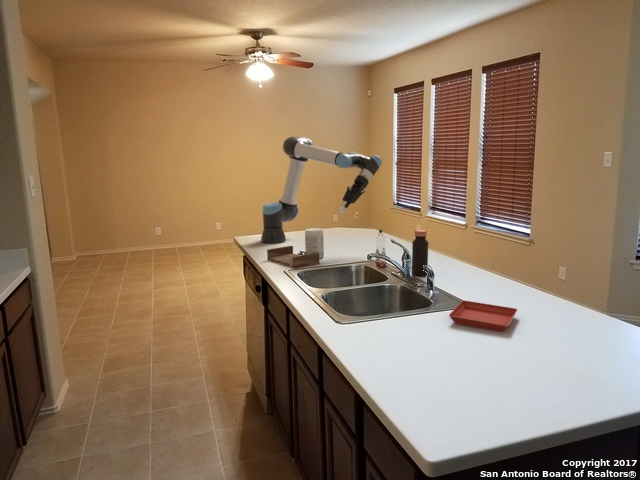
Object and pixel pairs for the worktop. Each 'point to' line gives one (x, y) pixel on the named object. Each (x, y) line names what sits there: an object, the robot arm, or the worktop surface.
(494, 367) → the worktop surface
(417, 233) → the bottle
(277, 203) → the robot arm
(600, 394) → the worktop surface
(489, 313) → the plant saucer
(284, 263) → the walnut tray
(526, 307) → the worktop surface
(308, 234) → the supplement tub
